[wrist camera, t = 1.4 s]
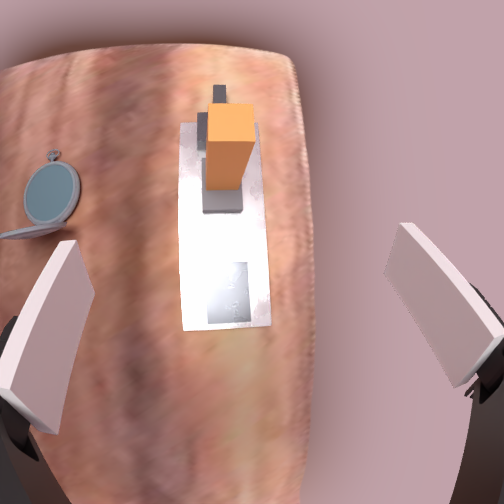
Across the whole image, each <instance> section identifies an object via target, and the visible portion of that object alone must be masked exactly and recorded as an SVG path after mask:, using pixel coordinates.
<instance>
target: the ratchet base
mask: <svg viewBox="0 0 504 504" xmlns="http://www.w3.org/2000/svg"><path fill="white" fill-rule="evenodd" d="M207 119H208V112H203V113H198V114H197V122H192V123H181V126H180V152H179V254H180V281H181V300H182V317H183V331H192V330H214V329H231V328H245V327H259V326H270V325H272V323H271V305H270V288H269V272H268V256H267V241H266V226H265V211H264V197H263V183H262V170H261V157H260V144H259V131H258V123H254V126H255V140H256V142H255V145H254V147H253V150H252V153H251V155H250V158H249V161H248V164H247V167H246V169H245V172H244V175H243V178H242V195H243V211H242V212H219V213H202V158H206V139H207Z"/></svg>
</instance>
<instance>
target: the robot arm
mask: <svg viewBox="0 0 504 504" xmlns="http://www.w3.org/2000/svg"><path fill="white" fill-rule="evenodd" d="M384 275H385V276H386V278H387V279H388V281H389V282H390V284H391V285H392V287H393V288H394V289H395V291H396V292H397V294H398V296H399V297H400V299H401V300H402V302H403V303H404V305H405V306H406V308H407V309H408V311H409V313H410V314H411V315H412V317H413V319H414V320H415V322H416V324H417V325H418V327H419V328H420V330H421V332H422V333H423V335H424V337H425V338H426V340H427V342H428V343H429V345H430V347H431V348H432V350H433V352H434V353H435V355H436V357H437V359H438V361H439V362H440V364H441V366H442V367H443V369H444V371H445V373H446V375H447V376H448V378H449V380H450V382H451V384H452V386H453V388H456V387H458V386H461V385H463V384H465V383H467V382H468V381H469V380H470V379H471V378H472V377H473V375H474V374H475V373H477V375H478V377H479V378H478V379H477V380H476V381H475V382H474V383H473V384H472V385H471V387H470V388H469V389H468V390H467V391H466V392H465V395H464V396H466V397H467V395H469V394H470V393H471V391H472V390H474V392H473V394H472V395H471V396H470V398H472V399H473V403H472V410H471V417H470V423H469V429H468V434H467V440H466V445H465V449H464V453H463V458H462V462H461V466H460V470H459V473H458V477H457V481H456V484H455V487H454V491H453V494H452V497H451V500H450V503H449V504H504V323H503V321H502V320H501V318H500V317H499V316H498V314H497V313H496V312H495V310H494V309H493V308H492V307H490V304H489V303H488V302H487V300H485V298H484V297H483V295H482V294H481V293H480V292H479V291H478V289H477V288H475V287H474V286H473V285H471V284H470V283H469V282H467V280H466V279H465V278H464V277H463V276H462V275H461V273H460V272H459V271H458V270H457V269H456V268H455V267H454V266H453V264H452V263H451V262H450V261H449V260H448V259H447V258H446V257H445V256H444V254H442V252H441V251H440V250H439V249H438V248H437V247H436V246H435V245H434V244H433V243H432V242H431V241H430V240H429V239H428V237H427V236H426V235H425V234H424V233H423V232H422V231H421V230H419V228H418V227H417V226H416V225H414V223H399V227H398V230H397V234H396V237H395V240H394V243H393V247H392V250H391V253H390V256H389V259H388V262H387V265H386V269H385V272H384ZM94 295H95V292H94V289H93V287H92V284H91V281H90V279H89V276H88V273H87V270H86V267H85V264H84V262H83V259H82V256H81V252H80V249H79V246H78V243H77V240H68V241H60V243H59V244H58V246H57V248H56V249H55V251H54V252H53V254H52V256H51V257H50V259H49V261H48V262H47V264H46V266H45V268H44V269H43V271H42V273H41V275H40V276H39V278H38V280H37V282H36V284H35V285H34V287H33V289H32V291H31V293H30V295H29V297H28V299H27V301H26V303H25V305H24V307H23V309H22V311H21V313H20V315H19V316H14V317H13V318H12V319H11V320H10V321H9V323H8V324H7V325H6V326H5V328H4V330H3V332H2V334H1V336H0V504H71V502H70V501H69V499H68V498H67V496H66V495H65V493H64V492H63V490H62V488H61V487H60V485H59V483H58V482H57V480H56V478H55V477H54V475H53V473H52V472H51V470H50V468H49V466H48V464H47V463H46V461H45V459H44V457H43V455H42V453H41V451H40V449H39V447H38V445H37V443H36V441H35V439H34V437H33V435H32V434H31V432H30V431H29V427H30V424H31V425H33V426H34V427H35V428H36V429H37V430H39V431H40V432H45V433H50V434H55V435H58V433H59V427H60V422H61V416H62V411H63V406H64V402H65V397H66V392H67V388H68V384H69V379H70V375H71V371H72V367H73V364H74V360H75V356H76V352H77V349H78V345H79V342H80V338H81V335H82V332H83V328H84V325H85V322H86V319H87V316H88V313H89V310H90V307H91V304H92V301H93V298H94Z"/></svg>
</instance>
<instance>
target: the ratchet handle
mask: <svg viewBox="0 0 504 504" xmlns="http://www.w3.org/2000/svg"><path fill="white" fill-rule="evenodd" d="M255 142H256V140H255V126H254V113H253V104H226V85H213V103H208V119H207V139H206V158H202V213H219V212H242V211H243V195H242V178H243V175H244V172H245V169H246V167H247V164H248V161H249V158H250V155H251V153H252V150H253V147H254V145H255Z"/></svg>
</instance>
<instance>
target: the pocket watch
mask: <svg viewBox="0 0 504 504" xmlns="http://www.w3.org/2000/svg"><path fill="white" fill-rule="evenodd" d="M54 150H57V151H58V154H57V155H55V153H51V154H50V156H49V157H47V155H48V154H49V153H50V152H51V151H54ZM51 151H49V152H48V153H47V155H46V157H47V158H48V159H49V160H51V162H50V163H47V164H45V165H43V166H42V167H40V168H39V169H38V170H37V171H36V172H35V173H34V174H33V175H32V176H31V178H30V179H29V181H28V183H27V186H26V188H25V192H24V209H25V213H26V215H27V217H28V219H29V220H30V221H31V222H32V223H33V224H35V225H36V226H32V227H26V228H22V229H17V230H13V231H8V232H5V233H2V234H0V239H14V240H16V239H30V238H35V237H39V236H42V235H46V234H49V233H52V232H54V231H56V230H59V229H61V228H63V227H65V226H66V224H67V222H63V221H64V220H65V219H67V218H68V216H69V215H70V214H71V213H72V211H73V210H74V208H75V206H76V204H77V201H78V198H79V193H80V181H79V177H78V174H77V172H76V170H75V169H74V168H73V167H72V166H71V165H69V164H68V163H66V162H62V161H53V160H54V159H55V158H56V157H57V156H58V155H59V150H58V149H53V150H51Z"/></svg>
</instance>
